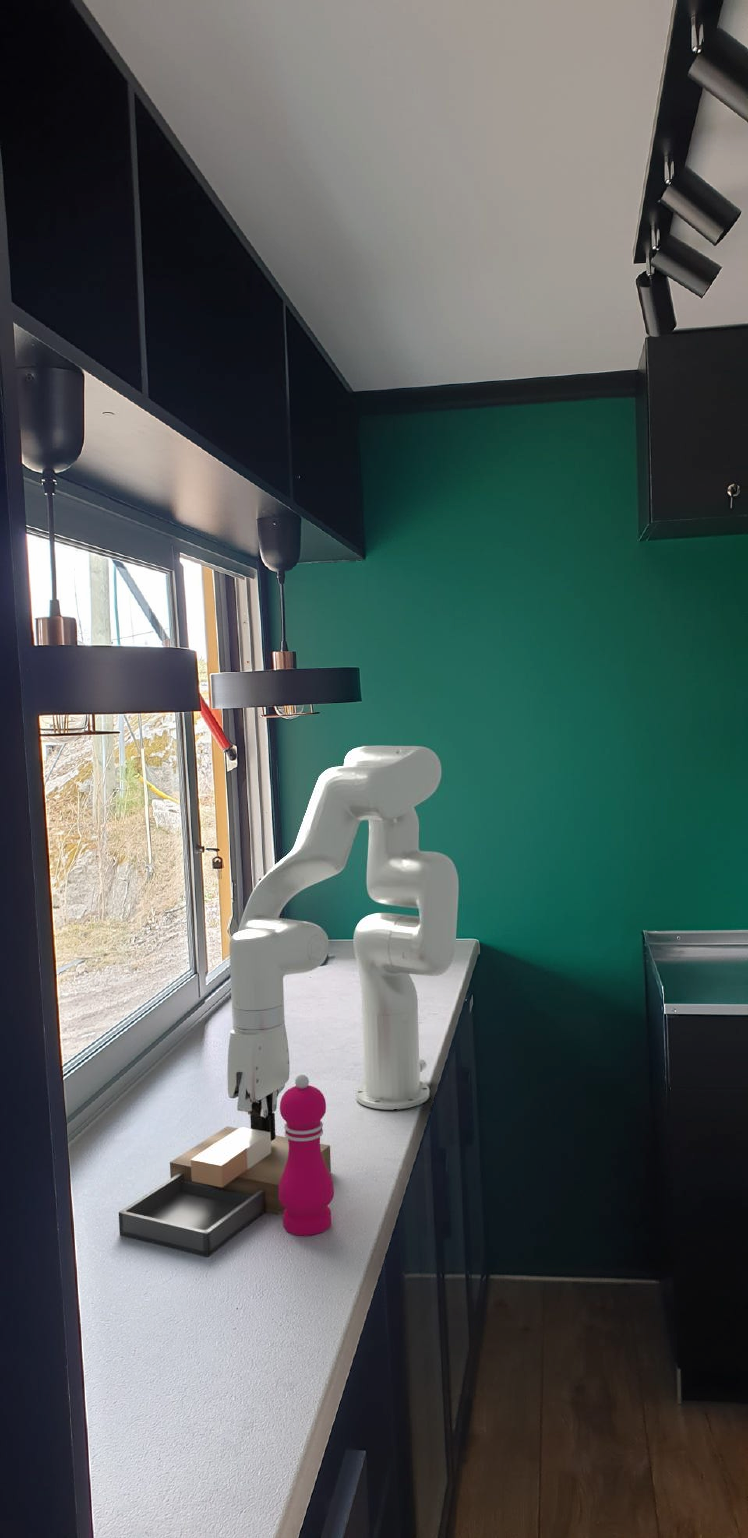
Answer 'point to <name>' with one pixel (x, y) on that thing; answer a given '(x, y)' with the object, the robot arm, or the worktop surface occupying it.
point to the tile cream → (250, 1143)
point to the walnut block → (250, 1169)
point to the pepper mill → (305, 1162)
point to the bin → (190, 1215)
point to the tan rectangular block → (218, 1164)
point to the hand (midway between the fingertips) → (263, 1139)
